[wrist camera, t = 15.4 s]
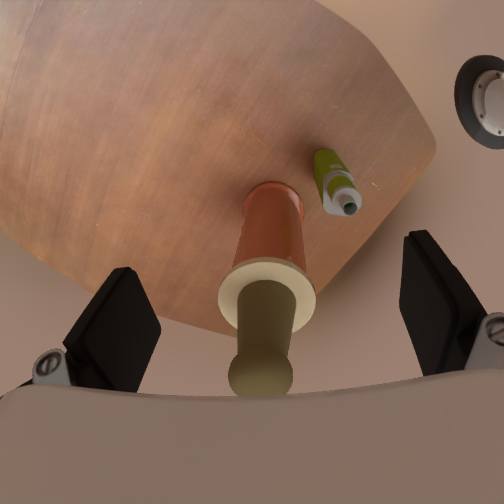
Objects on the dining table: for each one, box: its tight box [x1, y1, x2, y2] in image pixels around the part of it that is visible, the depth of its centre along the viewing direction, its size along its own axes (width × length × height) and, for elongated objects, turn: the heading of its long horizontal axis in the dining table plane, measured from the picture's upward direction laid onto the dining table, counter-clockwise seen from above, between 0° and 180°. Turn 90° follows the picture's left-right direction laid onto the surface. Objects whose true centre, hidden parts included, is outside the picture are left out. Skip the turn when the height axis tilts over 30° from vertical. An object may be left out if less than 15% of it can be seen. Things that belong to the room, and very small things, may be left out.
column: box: [218, 182, 316, 333], centre depth 42 cm, size 10×10×24 cm
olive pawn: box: [228, 280, 296, 396], centre depth 27 cm, size 6×6×11 cm
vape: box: [314, 149, 362, 216], centre depth 39 cm, size 4×6×20 cm, turn 5°
